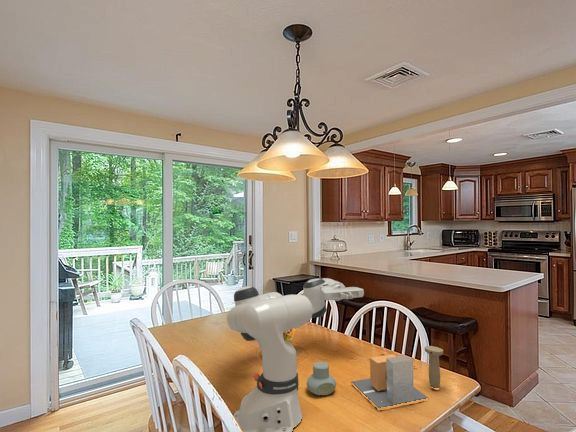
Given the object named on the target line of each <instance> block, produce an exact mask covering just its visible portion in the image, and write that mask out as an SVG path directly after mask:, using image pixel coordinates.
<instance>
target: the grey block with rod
mask: <svg viewBox="0 0 576 432" xmlns="http://www.w3.org/2000/svg"><path fill="white" fill-rule="evenodd" d="M413 366H414V359H412V358H411V357H409V356H407V355H399V356H397V357H392V358H386V370H387V371H386V377H387V399H388V400H389V401H390V402H392V403H393V404H394V405H395V404H400V403H404V402H409V401H414V388H415V387H414V368H413Z"/></svg>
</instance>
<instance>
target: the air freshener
mask: <svg viewBox="0 0 576 432" xmlns="http://www.w3.org/2000/svg"><path fill="white" fill-rule="evenodd" d="M312 370H313V371H312V374H310V376H309V377H308V378H307V379H306V380H307V381H306V387H307V389H308V391H309V392H311V393H312V394H314V395H316V396H320V395H326V396H327V395H330V394H332V393H333V392H334V391H335V389H336V386H337V381H336V379H335V378H334V377H333V376H332V375H331V374H330V366H329V363H327V362H324V361H316V362H315V363H313V365H312Z"/></svg>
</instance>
